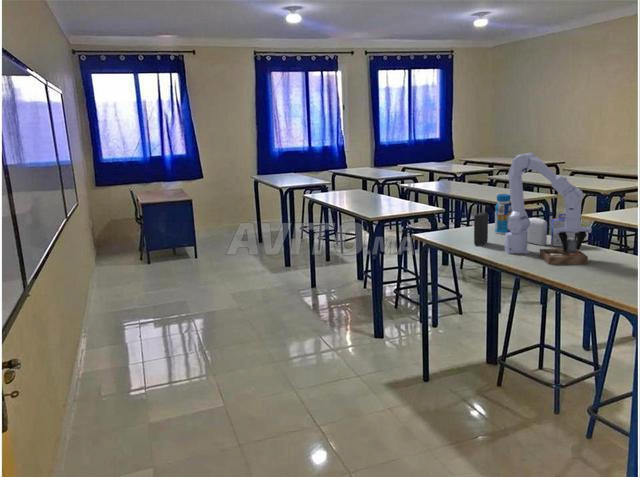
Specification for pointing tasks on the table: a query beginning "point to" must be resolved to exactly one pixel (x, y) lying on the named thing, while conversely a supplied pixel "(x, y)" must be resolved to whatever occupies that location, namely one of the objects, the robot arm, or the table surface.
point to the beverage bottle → (502, 213)
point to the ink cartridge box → (555, 237)
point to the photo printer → (537, 231)
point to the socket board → (563, 256)
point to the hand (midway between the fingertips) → (571, 249)
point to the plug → (571, 245)
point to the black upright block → (481, 228)
